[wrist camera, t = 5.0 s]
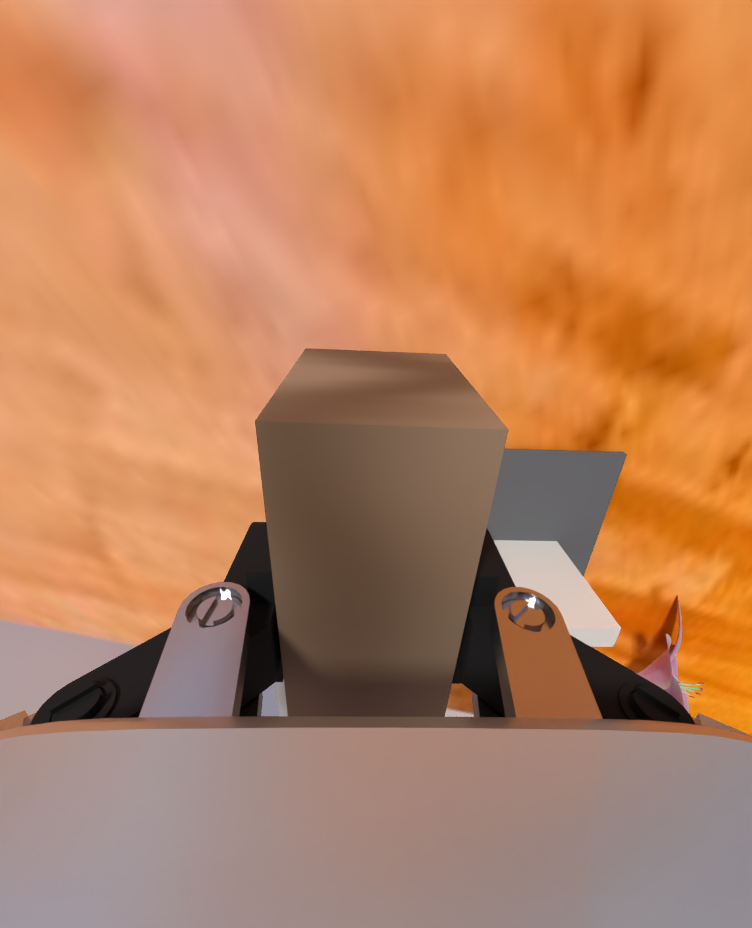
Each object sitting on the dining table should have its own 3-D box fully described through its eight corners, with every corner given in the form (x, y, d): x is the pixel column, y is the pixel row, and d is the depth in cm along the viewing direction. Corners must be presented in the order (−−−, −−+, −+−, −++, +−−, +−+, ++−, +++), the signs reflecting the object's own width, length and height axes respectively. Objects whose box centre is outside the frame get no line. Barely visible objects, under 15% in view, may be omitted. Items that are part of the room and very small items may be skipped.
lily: (632, 683, 39) (758, 759, 30) (550, 725, 34) (674, 831, 25) (642, 570, 37) (778, 617, 29) (558, 596, 32) (692, 662, 24)
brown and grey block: (510, 356, 10) (623, 433, 6) (435, 721, 18) (457, 873, 13) (238, 345, 10) (130, 416, 5) (283, 721, 18) (255, 875, 13)
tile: (556, 541, 29) (621, 628, 22) (551, 559, 30) (611, 649, 22) (451, 539, 28) (481, 627, 21) (448, 557, 29) (476, 648, 22)
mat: (623, 452, 26) (626, 454, 26) (563, 621, 33) (565, 624, 33) (419, 446, 26) (420, 448, 25) (402, 619, 32) (402, 623, 32)
